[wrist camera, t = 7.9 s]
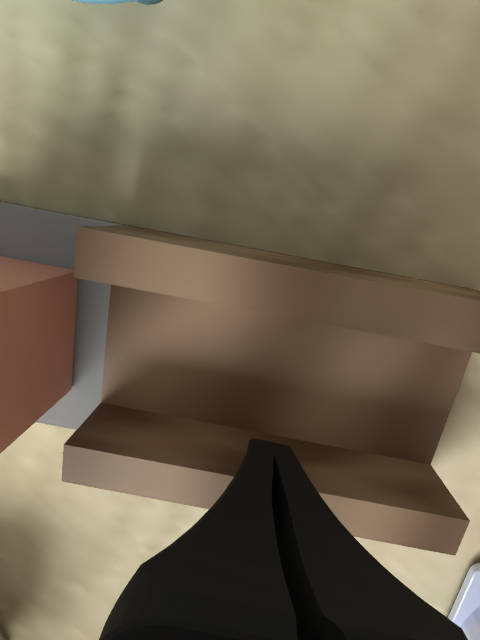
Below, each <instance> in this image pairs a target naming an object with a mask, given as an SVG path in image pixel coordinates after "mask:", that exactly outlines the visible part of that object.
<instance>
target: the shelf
mask: <svg viewBox="0 0 480 640" xmlns="http://www.w3.org/2000/svg"><path fill="white" fill-rule="evenodd" d="M108 225H123V224H117V223H112V222H107V221H101V220H96V219H90V218H85V217H80V216H74V215H69V214H64V213H58V212H53V211H47V210H42V209H37V208H31V207H26V206H21V205H15V204H10V203H4V202H0V256H3V257H8V258H14V259H19V260H25V261H30V262H35V263H41V264H46V265H51V266H57V267H62V268H67V269H73V270H74V262H75V245H76V228H77V226H108ZM110 288H111V284H106V283H101V282H95V281H90V280H84V279H79V278H78V290H77V306H76V323H75V339H74V355H73V371H72V388H71V390H70V391H69V392H68V393H67V394H66V395H65V396H64V397H63V398H62V399H60V400H59V401H58V402H57V403H56V404H55V405H54V406H53V407H51V408H50V409H49V410H48V411H47V412H46V413H45V414H44V415H43V416H41V417H40V418H39V419H38V420H37V421H36V422H39V423H44V424H49V425H54V426H60V427H65V428H70V429H76V430H77V429H78V428H79V427H80V426H81V424H82V423H83V422H84V421H85V420H86V419H87V418H88V416H89V415H90V414H91V413H92V412H93V411H94V410H95V409H96V407H97V406H98V405H99V404H100V403H101V393H102V381H103V370H104V358H105V346H106V335H107V323H108V311H109V300H110Z"/></svg>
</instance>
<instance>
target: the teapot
mask: <svg viewBox="0 0 480 640" xmlns="http://www.w3.org/2000/svg"><path fill="white" fill-rule="evenodd" d="M73 1H79V2H84V3H95V4H117V3H124V2H131V1H137V2H139V3H142V4H147V5H151V4H156V3H159V2H161V1H163V0H73Z"/></svg>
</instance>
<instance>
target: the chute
mask: <svg viewBox="0 0 480 640" xmlns="http://www.w3.org/2000/svg"><path fill="white" fill-rule="evenodd" d="M74 278H79V279H84V280H90V281H95V282H101V283H106V284H111V288H110V300H109V311H108V323H107V335H106V346H105V358H104V370H103V381H102V393H101V403H100V404H99V405H98V406H97V407H96V409H95V410H94V411H93V412H92V413H91V414H90V415H89V416H88V418H87V419H86V420H85V421H84V422H83V423H82V424H81V426H80V427H79V428H78V429H77V430H76V431H75V432H74V434H73V435H72V436H71V437H70V438H69V439H68V440H67V442H66V443H65V444H64V452H63V469H62V481H63V482H68V483H74V484H79V485H84V486H89V487H95V488H100V489H105V490H111V491H116V492H121V493H127V494H132V495H137V496H142V497H148V498H153V499H158V500H164V501H169V502H174V503H180V504H185V505H190V506H195V507H201V508H206V509H210V508H211V507H212V506H213V505H214V504H215V502H216V501H217V500H218V499H219V498H220V496H221V495H222V494H223V492H224V491H225V490H226V488H227V487H228V485H229V484H230V482H231V481H232V479H233V478H234V476H235V475H236V473H237V471H238V469H239V467H240V466H241V464H242V462H243V460H244V458H245V455H246V452H247V448H248V443H249V440H251V439H253V438H254V439H259V440H264V441H269V442H274V443H279V444H284V445H289V446H290V447H291V448H292V450H293V452H294V454H295V455H296V457H297V459H298V461H299V462H300V464H301V466H302V467H303V469H304V471H305V472H306V474H307V476H308V477H309V479H310V481H311V482H312V484H313V485H314V487H315V488H316V490H317V491H318V493H319V494H320V496H321V497H322V499H323V500H324V501H325V503H326V504H327V505H328V507H329V508H330V509H331V511H332V512H333V513H334V515H335V516H336V517H337V518H338V520H339V521H340V522H341V523H342V524H343V525H344V527H345V528H346V529H347V530H348V531H349V532H350V533H351V535H352V536H354V537H360V538H365V539H370V540H376V541H381V542H386V543H392V544H397V545H402V546H408V547H413V548H418V549H423V550H429V551H434V552H439V553H445V554H450V555H456V552H457V550H458V548H459V545H460V543H461V541H462V538H463V536H464V534H465V531H466V529H467V526H468V524H469V522H470V520H469V519H468V518H467V516H466V515H465V513H464V512H463V510H462V509H461V508H460V506H459V505H458V503H457V502H456V500H455V499H454V498H453V496H452V495H451V493H450V492H449V490H448V489H447V488H446V486H445V485H444V483H443V482H442V480H441V479H440V478H439V476H438V475H437V473H436V472H435V470H434V469H433V468H432V466H431V465H430V464H431V461H432V459H433V456H434V453H435V450H436V448H437V445H438V442H439V440H440V437H441V434H442V431H443V429H444V426H445V423H446V421H447V418H448V415H449V413H450V410H451V407H452V404H453V402H454V399H455V396H456V394H457V391H458V388H459V385H460V383H461V380H462V377H463V375H464V372H465V369H466V367H467V364H468V361H469V358H470V356H471V353H472V352H476V353H480V291H478V290H473V289H467V288H462V287H456V286H451V285H446V284H440V283H435V282H429V281H424V280H419V279H413V278H408V277H403V276H397V275H392V274H386V273H381V272H376V271H370V270H365V269H360V268H354V267H349V266H343V265H338V264H333V263H327V262H322V261H316V260H311V259H306V258H300V257H295V256H290V255H284V254H279V253H273V252H268V251H263V250H257V249H252V248H247V247H241V246H236V245H230V244H225V243H220V242H214V241H209V240H203V239H198V238H193V237H187V236H182V235H177V234H171V233H166V232H160V231H155V230H150V229H144V228H139V227H134V226H128V225H108V226H77V228H76V245H75V262H74Z"/></svg>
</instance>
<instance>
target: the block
mask: <svg viewBox="0 0 480 640" xmlns="http://www.w3.org/2000/svg"><path fill="white" fill-rule="evenodd" d="M77 290H78V278H74V270H73V269H67V268H62V267H57V266H51V265H46V264H41V263H35V262H30V261H25V260H19V259H14V258H8V257H3V256H0V453H1V452H2V451H3V450H5V449H6V448H7V447H8V446H9V445H10V444H11V443H12V442H13V441H15V440H16V439H17V438H18V437H19V436H20V435H21V434H22V433H24V432H25V431H26V430H27V429H28V428H29V427H30V426H31V425H32V424H34V423H35V422H36V421H37V420H38V419H39V418H40V417H41V416H43V415H44V414H45V413H46V412H47V411H48V410H49V409H50V408H51V407H53V406H54V405H55V404H56V403H57V402H58V401H59V400H60V399H62V398H63V397H64V396H65V395H66V394H67V393H68V392H69V391H70V390H71V388H72V371H73V355H74V339H75V323H76V306H77Z"/></svg>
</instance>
